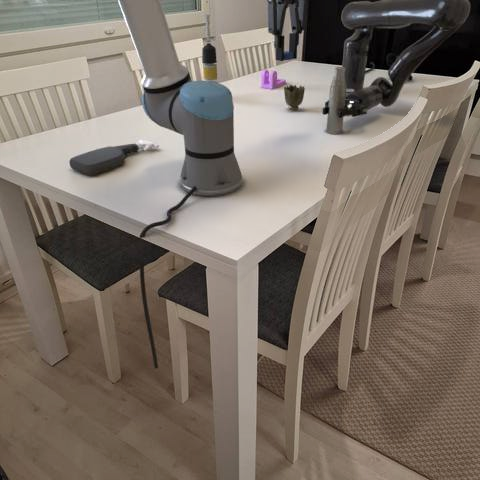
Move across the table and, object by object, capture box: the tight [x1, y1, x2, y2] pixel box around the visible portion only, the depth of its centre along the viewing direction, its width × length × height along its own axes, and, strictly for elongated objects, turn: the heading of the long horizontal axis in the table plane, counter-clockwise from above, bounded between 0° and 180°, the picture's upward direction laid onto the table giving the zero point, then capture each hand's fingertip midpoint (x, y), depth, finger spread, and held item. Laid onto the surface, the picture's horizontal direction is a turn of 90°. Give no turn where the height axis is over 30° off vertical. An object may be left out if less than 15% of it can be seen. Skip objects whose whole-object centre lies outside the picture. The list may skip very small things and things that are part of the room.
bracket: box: [260, 69, 287, 90], centre depth 194 cm, size 13×6×7 cm, turn 143°
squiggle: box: [385, 52, 414, 81], centre depth 198 cm, size 11×10×15 cm
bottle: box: [326, 66, 346, 135], centre depth 137 cm, size 5×5×19 cm
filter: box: [201, 14, 219, 83], centre depth 171 cm, size 6×6×30 cm
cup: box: [283, 84, 306, 112], centre depth 161 cm, size 8×7×8 cm
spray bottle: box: [68, 139, 160, 177], centre depth 124 cm, size 3×11×24 cm
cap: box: [284, 50, 294, 61], centre depth 127 cm, size 4×4×2 cm
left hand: (286, 59), depth 128 cm, fingers closed on cap, 4 cm apart
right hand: (331, 112), depth 137 cm, fingers closed on bottle, 5 cm apart
